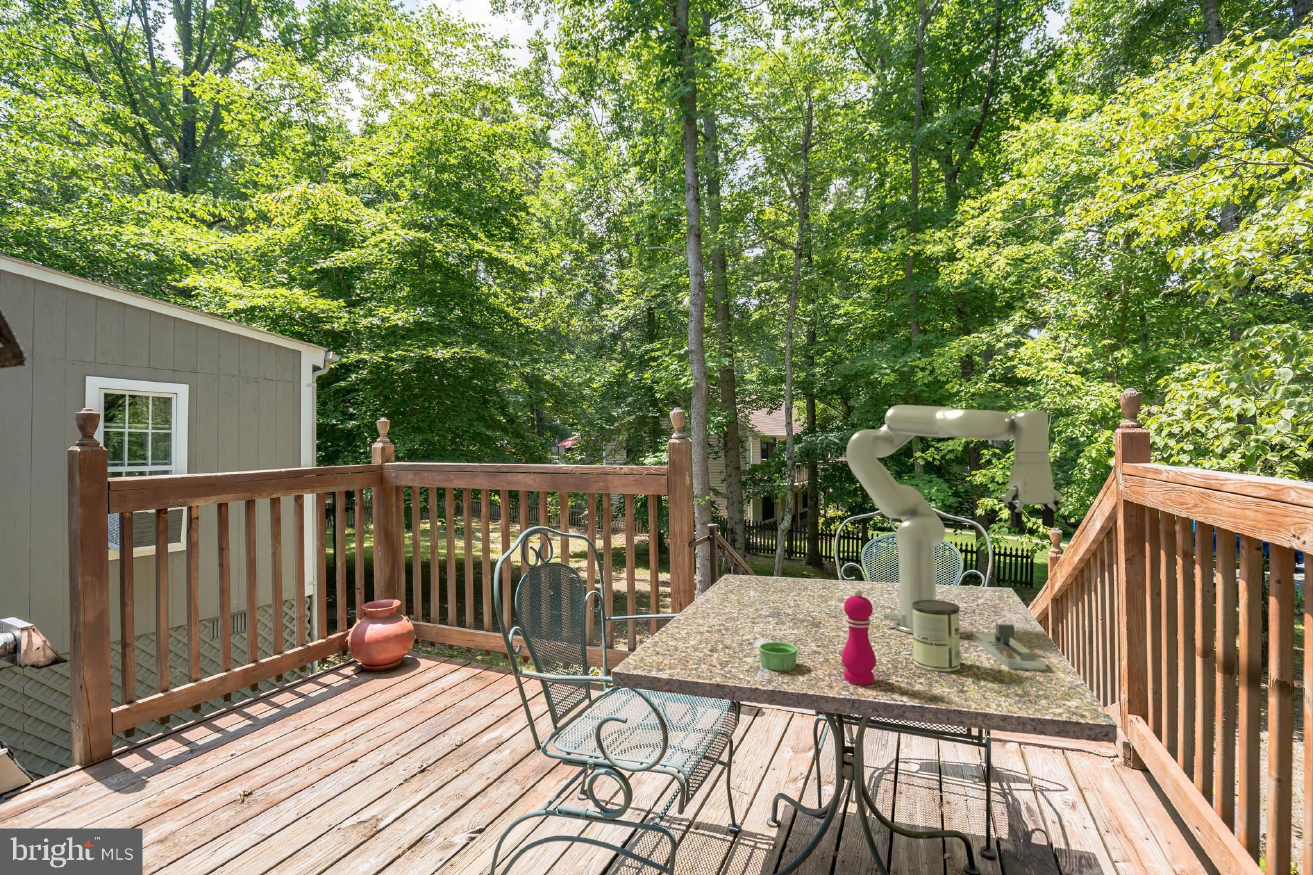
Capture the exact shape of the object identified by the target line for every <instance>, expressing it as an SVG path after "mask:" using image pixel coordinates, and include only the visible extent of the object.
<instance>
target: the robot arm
mask: <svg viewBox="0 0 1313 875" xmlns="http://www.w3.org/2000/svg"><path fill="white" fill-rule="evenodd" d="M884 423H885V424H883V425H882V426H881V427H880V428H879V429H868V428H867V429H862V430H859V431H857V432H855V433H854V434H852V436H851V437H850V439H849V441H848V442H847V446H846V451H845V452H846V454H845V455H846V461H847V464H848V467H849V468H850V470H851V472H852V474H853V475H854V476H855V478H856V479H857V480H858V481H859V483H860V484H861V486H862V487H863V489H864V490H865V491H866V492H867V494H868V496H869V497H870V498H871V500H872V502H874V504H875V505H876V507H877V508H878V510H879V511H880V512H881V514H883V515H884V516H885V517H887V518H889V519H899V520H901V523H900V524H899V525H898V527H897V529H896V532H895V533H896V534H895V536H896V537H895V538H896V539H895V540H896V547H897V553H898V568H899V569H898V570H899V572H898V574H899V576H898V577H899V609H897V610H896V612H893V613H886V612H885V613H884V612H882V616H881V617H882V621H888V622H889V623H890V622H892V623H894V624H893V626H894V628H895V629H897V630H898V631H901V632H904V633H907V634H913V607H912V603H913V602H915V601H919V600H937V589H936V588H937V586H936V584H937V583H936V580H937V578H936V575H937V574H936V560H935V554H934V548H933V547H936V546H938V545H940V544H941V543H942V542H943V541H944V539H945V536H946V529H945V528H946V527H945V525H944V523H943V521H942V520H941V518H940V517H939V516H938V514H937V513H936V511H935V510H934V509H933V508H932V507H931V505H930V504H929V502H928V501H927V500H926V499H925V498H924V496H923V495H922V494H921V493H920V492H919V490H917V489H916V488H915V487H913V486H910V485H908V484H907V485H906V484H900V483H898V482H897V480H896V479H895V478H894V477H893V476H892V474H891V473H890V471H889V470H888V469H887V468H886V467H885V466H884V465H883V464H882V463H881V462H880V461H879V460H878V458H886V457H888V456H890V455H892V454H893V453H895V452H896V451H898V450H899V449H900V448H902V447H903V446H904V445H905V444H907V443H908V442H909V441H911V440H912V439H913V438H914V437H915V436H920V437H921V436H922V437H932V438H933V437H935V438H963V439H975V440H976V439H977V440H988V441H1006V440H1013V445H1014V447H1013V448H1014V451H1013V452H1014V453H1013V455H1014V464H1012V465H1011V468H1010V473H1009V480H1008V490H1006V491H1005V492H1004V493H1002V494H1001V498H1002V501H1003V503H1004V506H1005V507H1006V508H1007V511H1008V512H1010V514H1009V516H1010V528H1012V529H1013V528H1014V529H1022V528H1023V527H1024V526H1023V512H1021V511H1022V509H1023V508H1024V506H1025V505H1041V507H1042V508H1043V510H1041V521H1042V522H1041V526H1043V527H1049V528H1054V527H1055V512H1056V511H1057V507H1058V506H1059V504H1060V500H1061V499H1062V493H1061V492H1060V491H1058V490H1056V489H1055V488H1054V480H1053V473H1052V469H1051V465H1050V463H1049V460H1050V459H1051V456H1050V455H1049V416H1048V414H1047V412H1046V411H1044V410H1023V411H1017V412H1006V411H999V410H990V409H989V410H986V409H968V408H967V409H966V408H963V409H962V408H953V407H948V406H935V405H934V406H933V405H932V406H931V405H916V404H915V405H912V404H897V405H893V406H892V407H890V408H889V409H888V410H886V413H885V415H884Z"/></svg>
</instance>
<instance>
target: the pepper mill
mask: <svg viewBox="0 0 1313 875" xmlns="http://www.w3.org/2000/svg"><path fill="white" fill-rule="evenodd" d="M843 608H844V609H843V611H844V613H845V615H847V617H846V625H848V637H847V641H846V644H845V646H844V648H843V650H842V655H841V663H842V665H843V666H844V667H845V669H844V672H843V675H844V677H843V678H844V680H846V681H845V682H847V681H849V682H850V683H849V682H848V683H849V684H851V683H856V684H860V685H859V686H869V685H868V684H870V685H872V684H874V682H875V674H874V672H873V670H874V669H875V667H876V666H877V660H876V653H875V651H874V649H873V648H872V645H871V643H870V638H869V627H870V626H871V619H870V617H871V615H873V610H874V609H873V604H872V602H871V601H870V599H869V598H868V597H865V596H863V591H862V589H860V588H855V589H854V591H853V595H852V596H850V597H848V598H847V599H846V600H845V601H844V606H843ZM871 683H872V684H871Z"/></svg>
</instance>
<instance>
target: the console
mask: <svg viewBox="0 0 1313 875" xmlns="http://www.w3.org/2000/svg"><path fill="white" fill-rule="evenodd" d="M972 641H973V642H974V643H976V644H977V645H978V646H979V647H981V648H982V649H983V650H984V651H985V652H987V653H988V654H989V655H991V656H992V657H993V658H994V659H995V660H997V662H999V663H1001V664H1002V665H1003V666H1004V667H1005V668H1006V669H1008V670H1021V671H1023V670H1026V671H1046V661H1045V660H1044V659H1042V658H1041V657H1040V656H1039V653H1038V652H1037V651H1035V650H1033V649H1032V650H1029V649H1028V648H1026V647H1025V646H1024V645H1022V644H1021V643H1019V642H1018V641H1017V640H1014V638H1010V643H1002V642H1001V637H998V636H997V635H996V632H972Z"/></svg>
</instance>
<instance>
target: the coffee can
mask: <svg viewBox="0 0 1313 875" xmlns="http://www.w3.org/2000/svg"><path fill="white" fill-rule="evenodd" d="M912 607H913V635H912V636H913V638H912V639H913V646H912V647H913V664H914V665H915V666H917V667H919V668H921V669H925V670H927V671H928V670H929V671H933V670H935V672H945V673H946V672H955V671H957V670H960V668H961V659H960V658H961V653H960V650H961V647H960V606H959V604H956V603H954V602H950V601H945V600H939V599H938V600H937V599H936V600H919V601H915V602H913V603H912Z"/></svg>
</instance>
